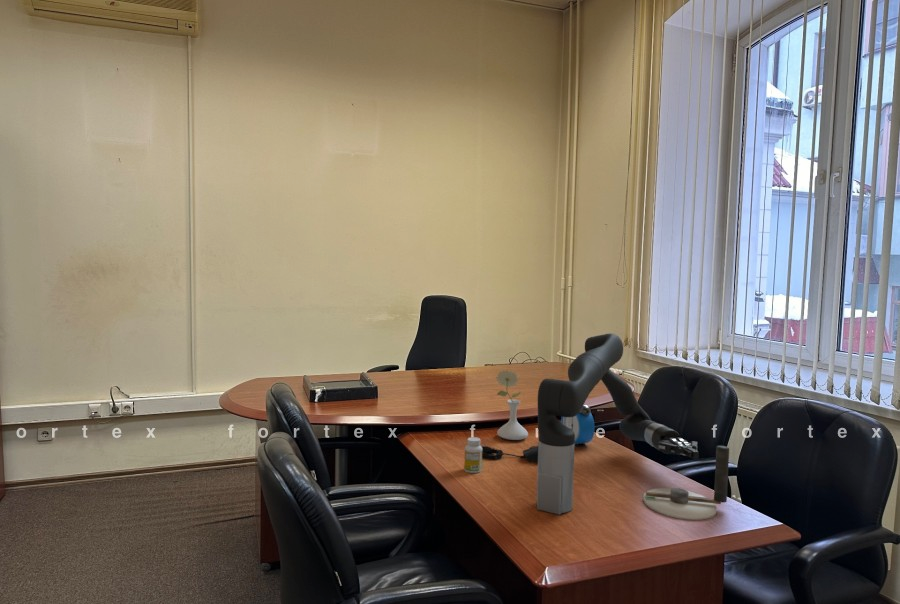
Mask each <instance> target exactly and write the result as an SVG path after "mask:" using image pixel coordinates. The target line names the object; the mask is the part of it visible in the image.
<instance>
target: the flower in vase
mask: <svg viewBox="0 0 900 604" xmlns="http://www.w3.org/2000/svg"><path fill="white" fill-rule="evenodd" d="M496 380H497V381H498V384H499V385H501V386H504V387H505V388H510V387H514V386H516V385H517V383H518V382H519V376H518V374H516V372H513V371H512V370H508V369H506V370H505V369H503V370H502V371H499V372H498V374H497V376H496ZM508 391H509V390H506V391H505V390H499V391H498V392H497V393H496V395H498V396H501V397H506V396H507V395H508V397H509V399H506V403H507V404H508V406H509V420H508V422H506V423H504V424H503V425H502V426H500V427H499V428H498V429H497V432H496V434H497V435H498V436H499V437H500V438H501V439H506V440H508V441H509V440H510V441H511V440H512V441H521V440H524V439H526V438H527V437H528V436H529V432H528V431H527V429H526V428H525V427H523V425H521V424H520V423H519V422H518V420H517V412H518V411H517V410H518V406H519V405H520V404H521V400H519V399H513V398H516V397H518V396H519V395H521V391H519V392H516V393H513V394H512V395H510V393H509V392H508Z"/></svg>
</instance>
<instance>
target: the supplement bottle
mask: <svg viewBox="0 0 900 604" xmlns="http://www.w3.org/2000/svg"><path fill="white" fill-rule="evenodd" d="M466 442H467V445H465V446H464V464H463V465H464V466H463V467H464V471H465V472H467V473H468V474H469V473H470V474H477V473H481V472H482V470H483V457H482V447H481V446H482V445H481V439H480V438H479V437H477V436H475V437H468V438H467V440H466Z"/></svg>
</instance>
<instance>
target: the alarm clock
mask: <svg viewBox="0 0 900 604" xmlns="http://www.w3.org/2000/svg"><path fill="white" fill-rule="evenodd" d="M591 410H592V409H591V407H590V406H589V405H587V404H585V403H584V405H583V407H582V408H581V410H580V412H579V413H578V414H577V415H576V416H574V417H562V416H561V419H560V421H561V423H562V424H563V425H565V426H566V427H568V428H570V429H571V430H573V432H574V434H575V445H576V446H575V447H578V445H579V444H588V443H590V442H591V441H592V440H593V438H594V436H595V435H594V434H595V430H596V429H595V420H594V416H593V415H592V412H591Z"/></svg>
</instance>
